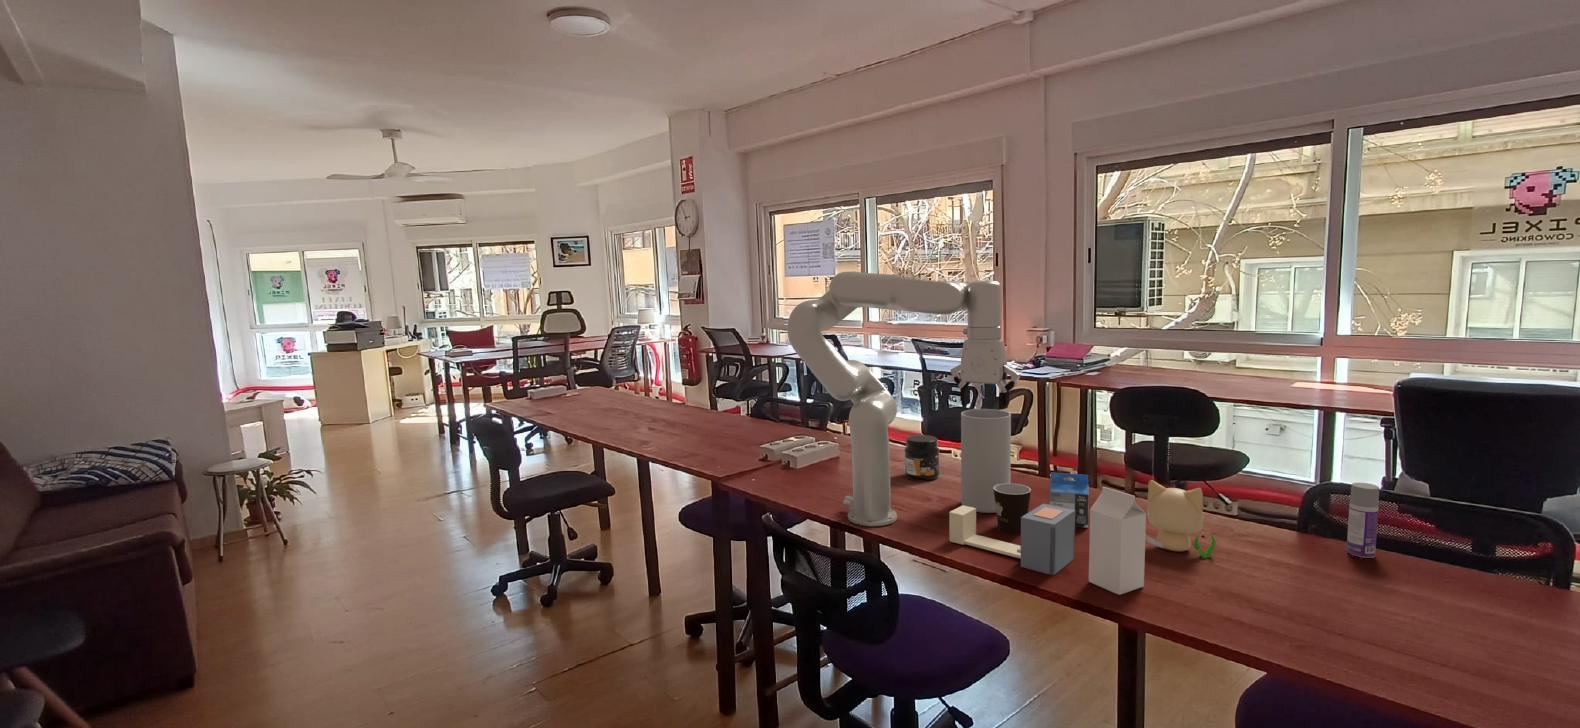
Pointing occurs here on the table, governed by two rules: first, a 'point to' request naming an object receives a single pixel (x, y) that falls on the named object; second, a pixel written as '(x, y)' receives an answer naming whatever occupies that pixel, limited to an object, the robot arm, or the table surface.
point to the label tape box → (1071, 495)
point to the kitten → (1176, 517)
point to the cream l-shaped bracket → (965, 533)
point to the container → (1363, 520)
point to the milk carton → (1117, 542)
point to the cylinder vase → (984, 456)
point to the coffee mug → (1011, 506)
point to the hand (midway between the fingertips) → (984, 406)
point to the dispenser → (1047, 539)
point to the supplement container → (921, 457)
